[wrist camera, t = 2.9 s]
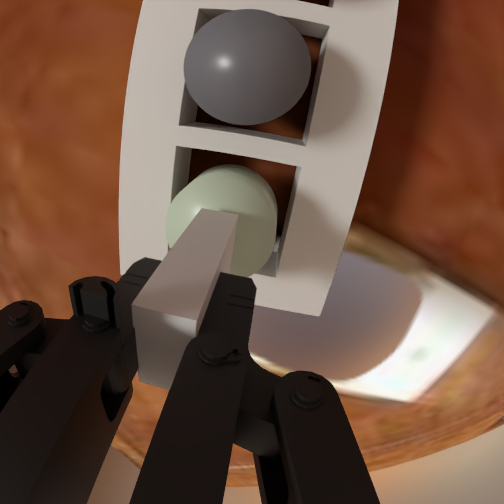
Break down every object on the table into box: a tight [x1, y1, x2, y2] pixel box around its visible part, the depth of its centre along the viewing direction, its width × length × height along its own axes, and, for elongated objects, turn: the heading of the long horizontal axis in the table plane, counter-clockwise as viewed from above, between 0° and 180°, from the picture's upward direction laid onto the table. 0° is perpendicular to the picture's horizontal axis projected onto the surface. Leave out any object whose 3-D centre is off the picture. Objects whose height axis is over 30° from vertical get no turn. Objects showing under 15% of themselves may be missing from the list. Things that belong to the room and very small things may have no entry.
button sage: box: [165, 164, 277, 277], centre depth 15 cm, size 5×5×3 cm
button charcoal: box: [183, 9, 311, 125], centre depth 11 cm, size 5×5×3 cm
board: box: [119, 0, 399, 316], centre depth 13 cm, size 24×12×3 cm, turn 170°
